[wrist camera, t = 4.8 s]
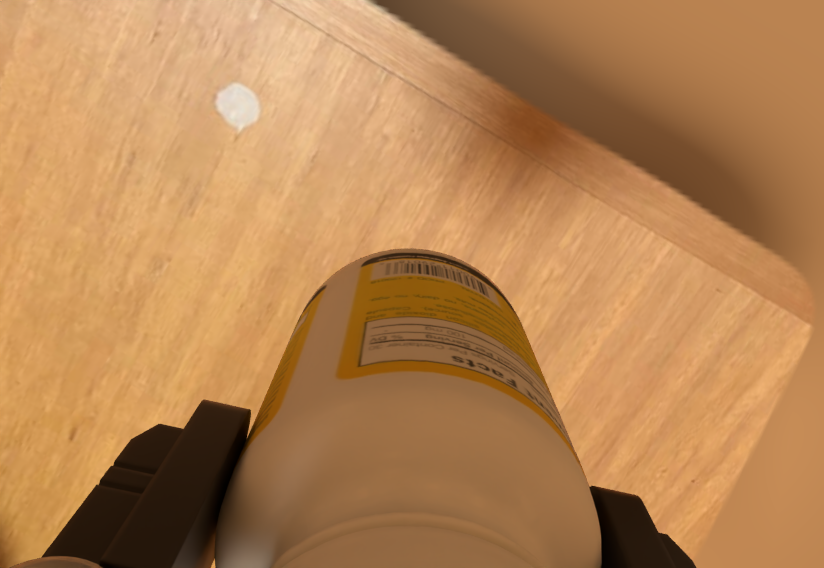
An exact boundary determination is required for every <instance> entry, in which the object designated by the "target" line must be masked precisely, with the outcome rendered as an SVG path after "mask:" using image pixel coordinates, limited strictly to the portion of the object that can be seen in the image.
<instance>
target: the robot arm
mask: <svg viewBox="0 0 824 568" xmlns="http://www.w3.org/2000/svg"><path fill="white" fill-rule="evenodd" d="M250 417H251V410H250V409H245V408H240V407H236V406H231V405H227V404H222V403H218V402H213V401H208V400H203V401H202V402H201V403H200V404H199V406H198V408H197V409H196V411H195V412H194V414H193V415H192V417H191V418H190V420H189V422H188V423H187V425H186V426H185V428H184V429H181V428H177V427H172V426H167V425H163V424H158V425H156V426H154V427H153V428H151V429H149V430H147V431H145V432H144V433H142V434H140V435H138V436H136V437H135V438H133V439H131V440H130V442H129V443H128V444H127V446H126V447H125V448H124V450H123V451H122V452H121V454H120V455H119V456H118V457H117V459H116V460H115V462H114V465H113V466H111V467H110V468H109V469H108V471H107V472H106V473H105V475H104V476H103V477H102V478H101V480H100V483H99V485H96V486H95V488H94V489H93V490H92V492H91V493H90V494H89V496H88V497H87V498H86V499H85V501H84V502H83V503H82V505H81V506H80V507H79V509H78V510H77V511H76V513H75V514H74V515H73V517H72V518H71V519H70V520H69V522H68V523H67V524H66V526H65V527H64V528H63V530H62V531H61V532H60V534H59V535H58V536H57V538H56V539H55V540H54V541H53V543H52V544H51V545H50V547H49V548H48V549H47V551H46V552H45V553H44V555H43V556H42V557H41V558H37V559H33V560H29V561H26V562H23V563H20V564H17V565H14V566H12V567H10V568H211V565H212V563H213V561H214V558H215V554H214V552H215V536H216V527H217V522H218V516H219V512H220V508H221V504H222V502H223V499H224V496H225V493H226V490H227V487H228V484H229V481H230V478H231V476H232V473H233V470H234V468H235V465H236V463H237V460H238V458H239V456H240V454H241V451H242V449H243V447H244V444H245V442H246V440H247V434H248V429H249V424H250ZM589 488H590V492H591V495H592V498H593V501H594V505H595V508H596V512H597V515H598V520H599V525H600V531H601V551H602V565H601V568H696V566H695V565H694V563H693V561H692V560H691V559H690V558H689V557H688V556H687V555H686V554H685V553H684V552H683V550H682V549H681V548H680V547H679V546H678V545H677V544H676V543H675V542H674V541H673V540H672V539H671V538H670V537H669V536H668V535H667V534H662V533H658V531H657V529H656V527H655V525H654V523H653V521H652V519H651V517H650V515H649V513H648V511H647V509H646V507H645V505H644V503H643V502H642V500H641V498H639V497H638V496H636V495H632V494H628V493H623V492H619V491H614V490H610V489H605V488H601V487H596V486H591V487H589Z"/></svg>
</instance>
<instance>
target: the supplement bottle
mask: <svg viewBox="0 0 824 568" xmlns="http://www.w3.org/2000/svg"><path fill="white" fill-rule="evenodd" d="M214 554H215V566H216V568H601V565H602V551H601V531H600V525H599V520H598V515H597V512H596V508H595V505H594V501H593V498H592V495H591V492H590V488H589V484H588V482H587V479H586V476H585V474H584V471H583V469H582V466H581V464H580V461H579V459H578V457H577V454H576V452H575V450H574V448H573V445H572V443H571V441H570V438H569V436H568V433H567V431H566V429H565V426H564V424H563V421H562V419H561V417H560V414H559V412H558V410H557V407H556V405H555V403H554V400H553V398H552V395H551V393H550V391H549V388H548V386H547V384H546V381H545V379H544V376H543V374H542V372H541V369H540V367H539V364H538V362H537V360H536V358H535V355H534V353H533V350H532V348H531V345H530V343H529V341H528V338H527V336H526V334H525V331H524V329H523V327H522V324H521V322H520V320H519V318H518V316H517V314H516V312H515V311H514V309H513V308H512V306H511V304H510V303H509V301H508V300H507V299H506V297H505V296H504V294H503V293H502V292H501V291H500V289H499V288H498V287H497V286H496V285H495V284H494V283H493V282H492V281H491V280H490V279H489V278H488V277H487V276H485V275H484V274H483V273H481V272H480V271H479V270H477V269H476V268H474V267H473V266H471V265H469V264H467V263H465V262H464V261H462V260H459V259H457V258H455V257H452V256H449V255H446V254H443V253H439V252H434V251H430V250H422V249H394V250H388V251H382V252H378V253H375V254H371V255H368V256H366V257H363V258H360V259H358V260H356V261H354V262H352V263H350V264H348V265H346V266H345V267H343V268H342V269H340V270H339V271H337V272H336V273H335V274H333V275H332V276H331V277H330V278H329V279H328V280H327V281H326V282H325V283H324V284H323V285H322V286H321V287H320V288H319V289H318V290H317V291H316V292H315V294H314V295H313V296H312V298H311V299H310V300H309V302H308V304H307V305H306V307H305V309H304V311H303V313H302V314H301V316H300V318H299V320H298V322H297V324H296V326H295V329H294V331H293V333H292V335H291V338H290V340H289V343H288V345H287V347H286V350H285V352H284V354H283V357H282V359H281V361H280V363H279V366H278V368H277V370H276V373H275V375H274V378H273V380H272V382H271V385H270V387H269V389H268V391H267V394H266V396H265V399H264V401H263V403H262V406H261V408H260V410H259V412H258V415H257V417H256V419H255V422H254V424H253V426H252V429H251V431H250V433H249V436H248V438H247V440H246V442H245V444H244V447H243V449H242V451H241V454H240V456H239V458H238V460H237V463H236V465H235V468H234V470H233V473H232V476H231V478H230V481H229V484H228V487H227V490H226V493H225V496H224V499H223V502H222V504H221V508H220V512H219V516H218V522H217V527H216V536H215V552H214Z"/></svg>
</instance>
